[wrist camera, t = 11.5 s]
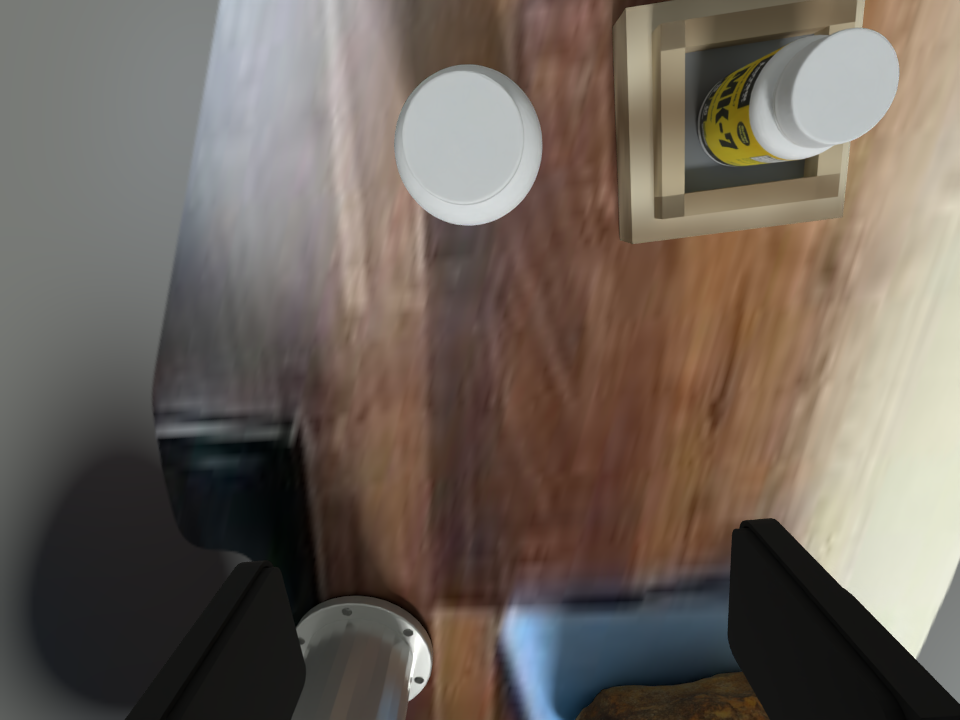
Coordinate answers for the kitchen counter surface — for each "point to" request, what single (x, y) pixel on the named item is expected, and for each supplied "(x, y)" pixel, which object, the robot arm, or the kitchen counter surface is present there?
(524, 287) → the kitchen counter surface
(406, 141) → the supplement bottle
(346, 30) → the kitchen counter surface
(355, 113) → the kitchen counter surface
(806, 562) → the robot arm
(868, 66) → the supplement bottle
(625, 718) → the rough brown rock
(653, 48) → the plinth
